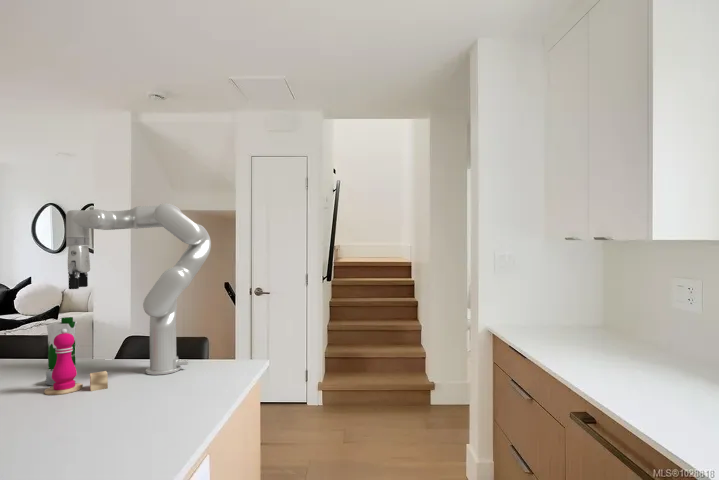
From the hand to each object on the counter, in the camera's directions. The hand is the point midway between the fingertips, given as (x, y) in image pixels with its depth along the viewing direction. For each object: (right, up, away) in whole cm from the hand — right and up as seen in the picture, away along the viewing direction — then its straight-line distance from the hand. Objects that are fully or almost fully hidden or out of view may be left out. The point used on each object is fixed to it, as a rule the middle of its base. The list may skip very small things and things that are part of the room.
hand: (78, 287), depth 174 cm
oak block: (+17, -33, -16) cm, 40 cm away
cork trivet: (+6, -33, -18) cm, 38 cm away
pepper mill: (+6, -32, -18) cm, 37 cm away
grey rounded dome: (-1, -33, -9) cm, 34 cm away
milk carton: (-15, -34, +14) cm, 40 cm away
